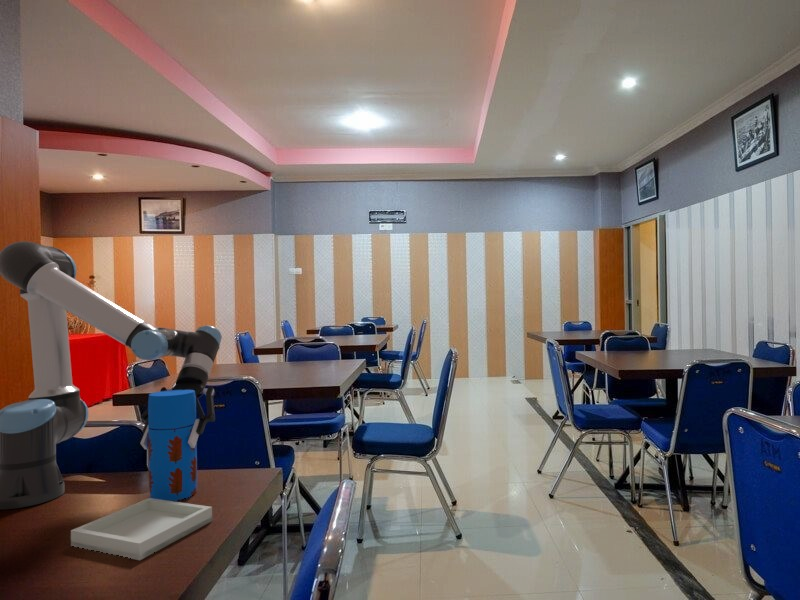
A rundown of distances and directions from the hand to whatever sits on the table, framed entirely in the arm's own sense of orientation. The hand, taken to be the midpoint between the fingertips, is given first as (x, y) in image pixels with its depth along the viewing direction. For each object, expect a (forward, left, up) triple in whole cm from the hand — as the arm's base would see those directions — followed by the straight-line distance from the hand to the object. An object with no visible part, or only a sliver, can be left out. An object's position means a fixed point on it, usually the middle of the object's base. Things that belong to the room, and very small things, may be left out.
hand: (167, 445), depth 121 cm
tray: (+11, -16, -13) cm, 23 cm away
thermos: (-1, +3, -13) cm, 13 cm away
